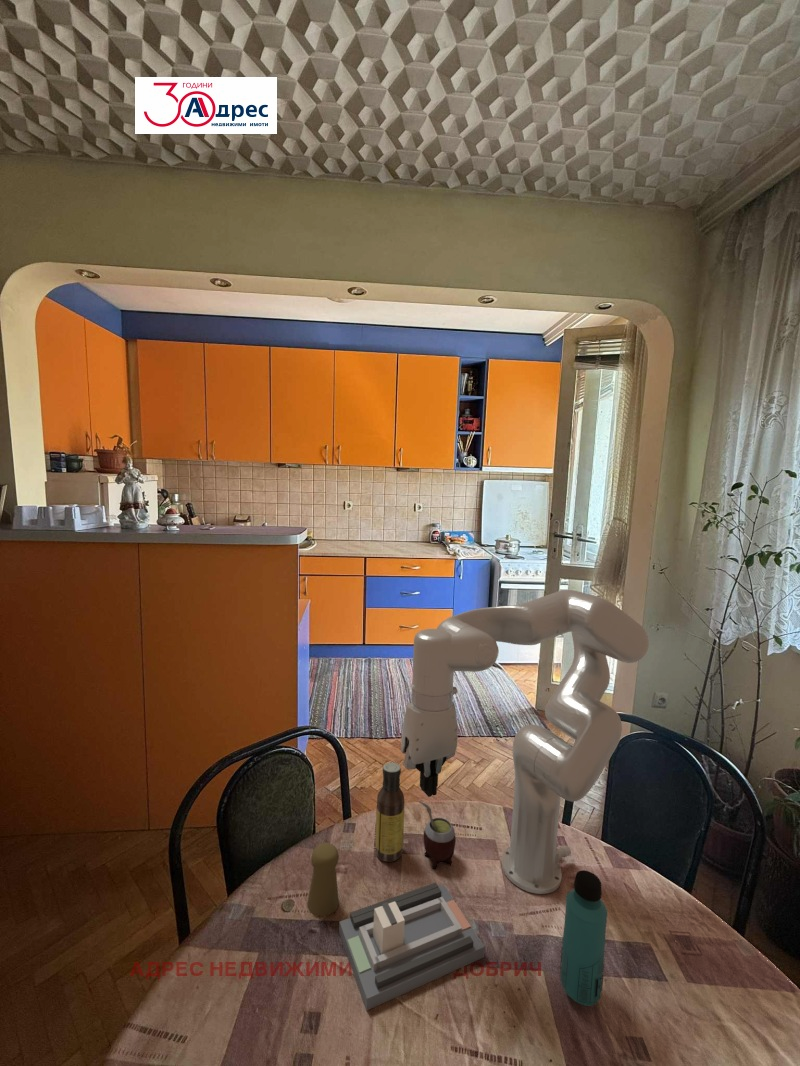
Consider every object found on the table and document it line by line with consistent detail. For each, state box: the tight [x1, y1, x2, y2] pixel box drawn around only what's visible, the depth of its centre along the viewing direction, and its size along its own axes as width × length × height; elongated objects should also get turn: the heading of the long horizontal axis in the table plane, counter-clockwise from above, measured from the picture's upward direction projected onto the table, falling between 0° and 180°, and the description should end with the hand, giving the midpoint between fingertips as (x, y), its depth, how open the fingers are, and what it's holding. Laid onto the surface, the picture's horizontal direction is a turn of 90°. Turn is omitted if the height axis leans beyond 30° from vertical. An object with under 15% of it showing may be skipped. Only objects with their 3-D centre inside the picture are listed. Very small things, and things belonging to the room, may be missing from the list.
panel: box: [338, 882, 486, 1011], centre depth 82 cm, size 22×14×3 cm, turn 115°
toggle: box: [373, 901, 405, 955], centre depth 80 cm, size 4×4×5 cm
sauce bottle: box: [375, 761, 405, 863], centre depth 102 cm, size 6×6×20 cm
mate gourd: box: [418, 800, 457, 871], centre depth 101 cm, size 8×8×15 cm
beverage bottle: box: [559, 869, 608, 1007], centre depth 74 cm, size 6×7×20 cm
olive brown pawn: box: [306, 842, 340, 918], centre depth 89 cm, size 6×6×11 cm
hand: (428, 791), depth 86 cm, fingers closed
